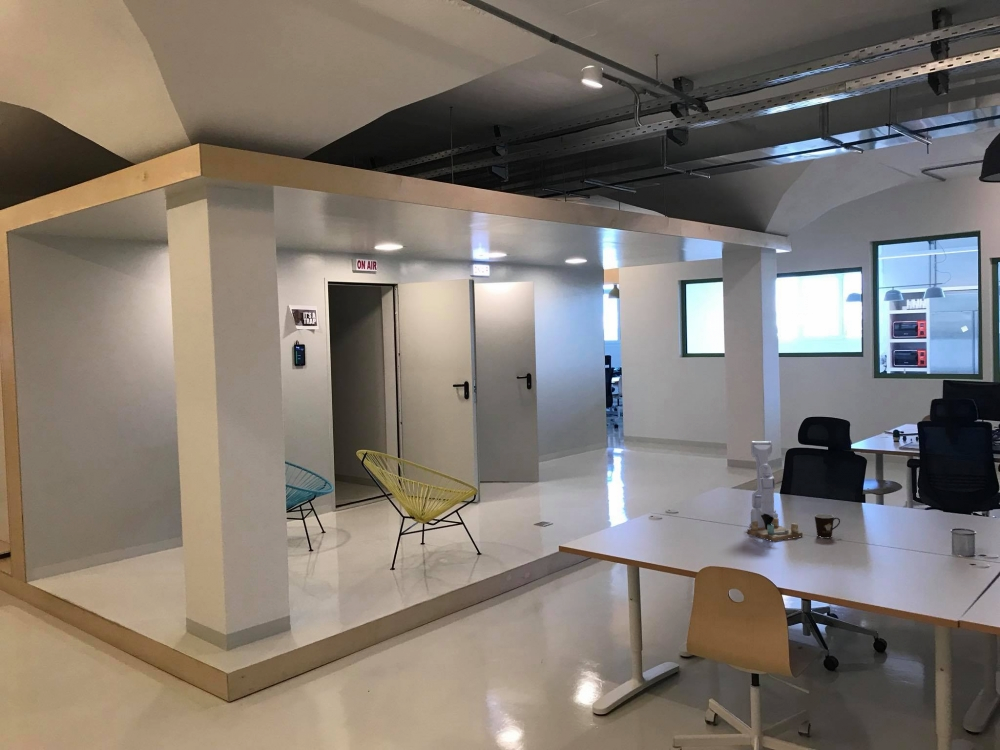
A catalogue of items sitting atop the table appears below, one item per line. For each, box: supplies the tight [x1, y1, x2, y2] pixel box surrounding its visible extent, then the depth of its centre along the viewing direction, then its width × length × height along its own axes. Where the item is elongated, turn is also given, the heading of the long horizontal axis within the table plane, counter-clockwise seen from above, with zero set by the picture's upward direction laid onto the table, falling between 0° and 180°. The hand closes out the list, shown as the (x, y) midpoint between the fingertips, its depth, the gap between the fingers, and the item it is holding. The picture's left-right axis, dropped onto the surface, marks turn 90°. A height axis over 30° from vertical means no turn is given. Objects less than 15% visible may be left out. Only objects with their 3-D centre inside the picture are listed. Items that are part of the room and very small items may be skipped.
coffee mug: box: [814, 513, 841, 538], centre depth 368 cm, size 12×9×10 cm
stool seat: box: [746, 517, 803, 542], centre depth 374 cm, size 18×18×6 cm
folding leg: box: [767, 524, 789, 534], centre depth 369 cm, size 10×3×4 cm, turn 95°
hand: (768, 529), depth 370 cm, fingers closed
